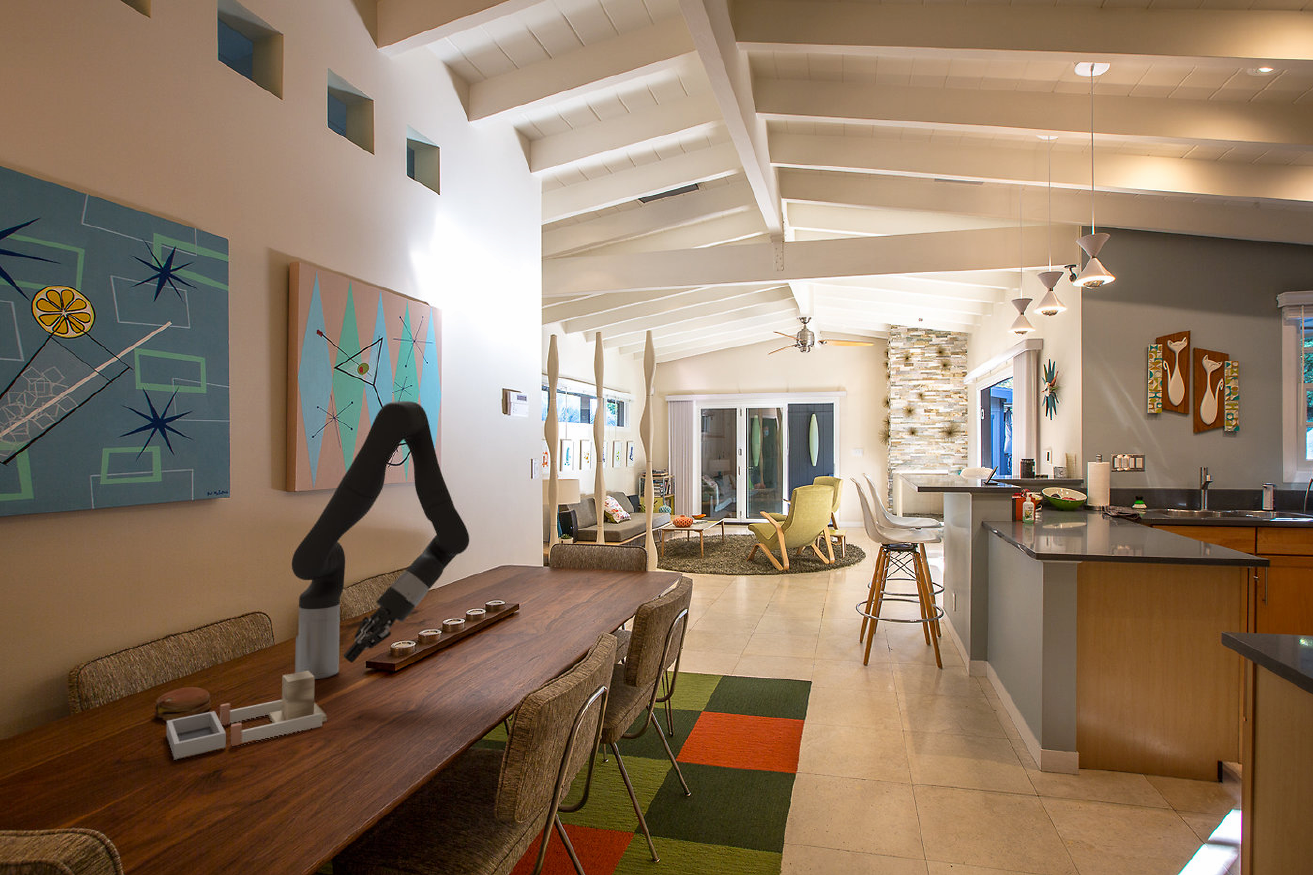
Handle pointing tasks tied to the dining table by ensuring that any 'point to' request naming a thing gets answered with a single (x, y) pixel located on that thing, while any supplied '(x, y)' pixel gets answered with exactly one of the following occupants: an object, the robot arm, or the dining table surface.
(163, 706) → the burger
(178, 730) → the box
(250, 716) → the ladder rail frame
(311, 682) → the pawn block
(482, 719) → the dining table surface
